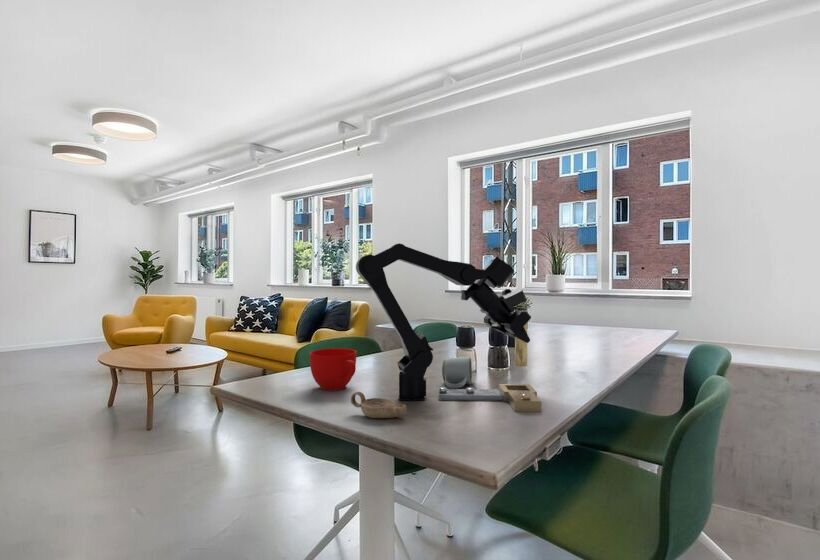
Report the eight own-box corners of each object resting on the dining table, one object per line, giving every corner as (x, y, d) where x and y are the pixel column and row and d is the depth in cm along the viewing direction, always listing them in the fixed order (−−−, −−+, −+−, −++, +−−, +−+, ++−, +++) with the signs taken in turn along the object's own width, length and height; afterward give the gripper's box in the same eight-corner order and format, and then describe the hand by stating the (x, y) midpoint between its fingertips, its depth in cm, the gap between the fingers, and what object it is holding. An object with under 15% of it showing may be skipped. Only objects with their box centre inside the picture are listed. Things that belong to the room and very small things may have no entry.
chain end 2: (510, 411, 99) (510, 396, 99) (498, 392, 115) (498, 380, 115) (545, 411, 99) (545, 396, 99) (529, 393, 115) (529, 380, 115)
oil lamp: (411, 415, 97) (411, 392, 97) (397, 425, 90) (396, 401, 90) (360, 408, 103) (360, 387, 103) (343, 417, 96) (343, 395, 96)
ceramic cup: (332, 399, 109) (332, 360, 109) (301, 387, 122) (301, 351, 122) (374, 390, 118) (374, 354, 118) (340, 380, 131) (340, 346, 131)
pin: (514, 366, 116) (514, 317, 116) (512, 363, 120) (512, 316, 120) (529, 366, 115) (530, 318, 115) (527, 363, 119) (527, 316, 119)
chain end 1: (439, 400, 108) (439, 392, 108) (438, 392, 116) (438, 384, 116) (536, 401, 107) (536, 392, 107) (529, 393, 115) (529, 384, 115)
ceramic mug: (445, 379, 131) (444, 354, 131) (472, 380, 129) (472, 355, 129) (439, 388, 121) (439, 361, 120) (469, 390, 119) (469, 362, 119)
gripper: (523, 279, 108) (563, 322, 110) (494, 279, 126) (528, 316, 128) (493, 311, 106) (535, 355, 108) (468, 306, 124) (503, 344, 127)
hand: (525, 340), depth 118 cm, fingers closed on pin, 3 cm apart
